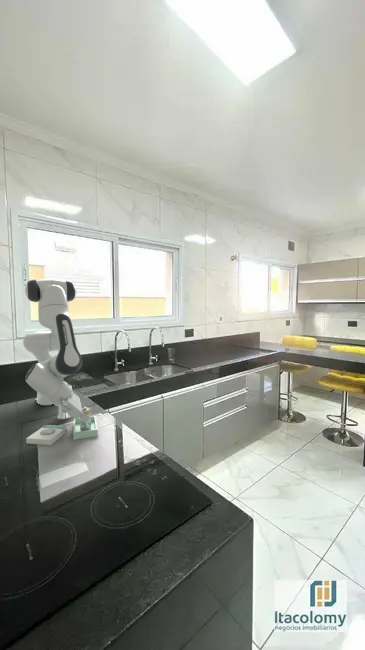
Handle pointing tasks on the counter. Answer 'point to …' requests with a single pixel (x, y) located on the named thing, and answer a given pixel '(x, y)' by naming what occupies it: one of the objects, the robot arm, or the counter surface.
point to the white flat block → (46, 435)
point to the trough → (88, 433)
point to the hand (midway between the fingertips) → (86, 414)
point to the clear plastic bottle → (62, 413)
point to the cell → (85, 424)
